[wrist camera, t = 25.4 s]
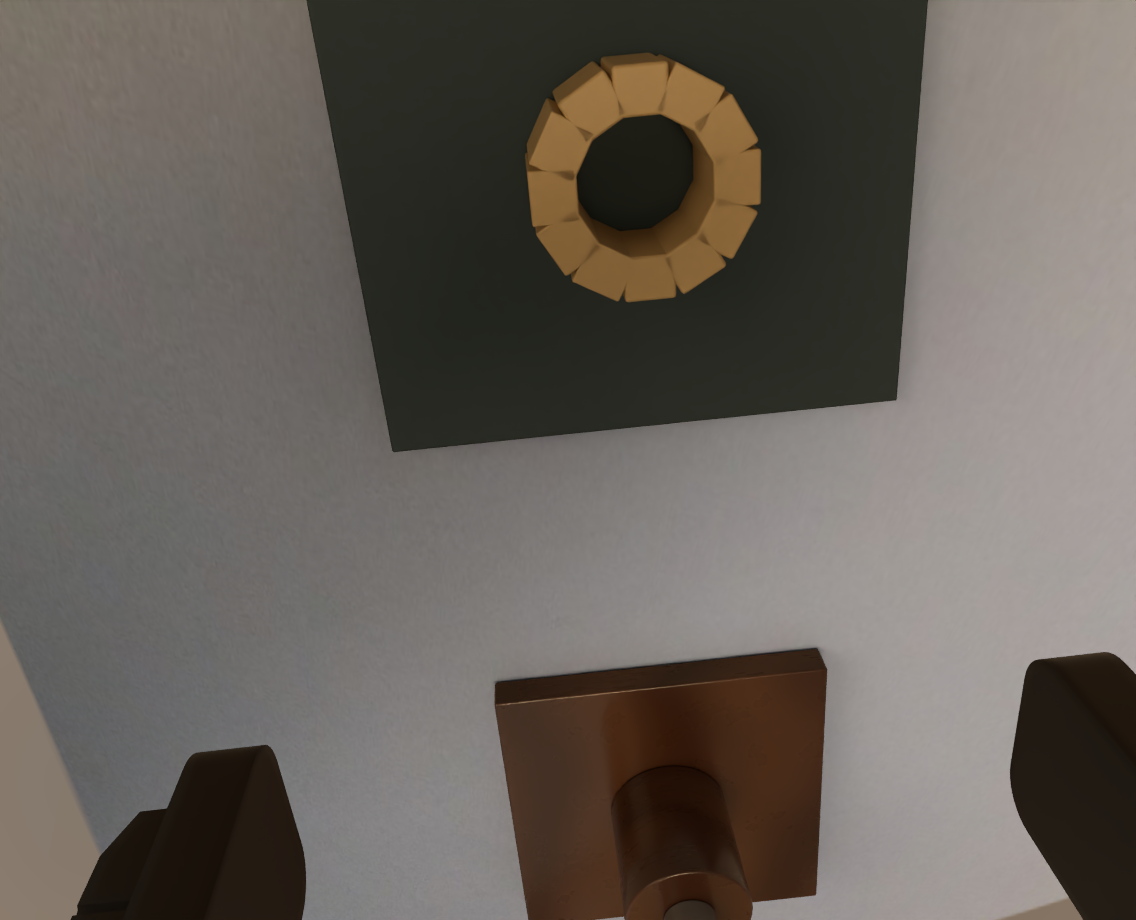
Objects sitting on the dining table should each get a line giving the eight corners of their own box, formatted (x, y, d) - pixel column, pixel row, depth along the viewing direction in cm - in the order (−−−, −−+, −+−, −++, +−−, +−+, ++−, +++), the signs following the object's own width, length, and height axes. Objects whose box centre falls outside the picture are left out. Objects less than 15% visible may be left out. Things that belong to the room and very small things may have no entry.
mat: (394, 444, 30) (392, 452, 30) (283, -145, 23) (278, -149, 22) (890, 393, 30) (897, 400, 30) (935, -207, 23) (945, -211, 23)
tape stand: (528, 902, 40) (534, 1147, 32) (494, 682, 35) (491, 907, 26) (808, 871, 40) (888, 1107, 32) (817, 647, 35) (918, 860, 26)
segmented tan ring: (537, 280, 27) (541, 312, 25) (515, 65, 25) (517, 75, 22) (735, 260, 28) (760, 290, 25) (735, 43, 25) (762, 50, 22)
